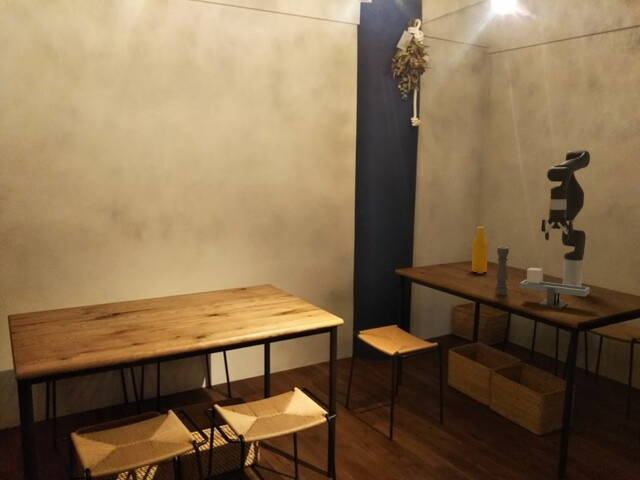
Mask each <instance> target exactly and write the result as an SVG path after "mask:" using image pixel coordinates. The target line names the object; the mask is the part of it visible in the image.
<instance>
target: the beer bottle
mask: <svg viewBox="0 0 640 480" xmlns="http://www.w3.org/2000/svg"><path fill="white" fill-rule="evenodd" d="M475 234H476V235H475V237H474V239H473V241H472V250H471V255H472V257H471V272H472V271H474V272H486V271H487V272H488V241H487V239H486V236H485V235H486V232H485V227H484V226H477V228H476V233H475ZM487 272H486V273H487Z"/></svg>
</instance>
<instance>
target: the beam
mask: <svg viewBox="0 0 640 480" xmlns="http://www.w3.org/2000/svg"><path fill="white" fill-rule="evenodd" d="M548 288H552V289H555V291H554V293H560V295H568V296H577V297H583V298H585V297H587V296H588V295H589V294H590V289H591V287H589V286H582V285H581V286H575V285H566V284H563V283H557V282H549V281H543V285H537V284H529V283H527V279H524V280H522V281H521V282H520V283H519V289H524V290H531V291H540V292H547V289H548Z"/></svg>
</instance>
